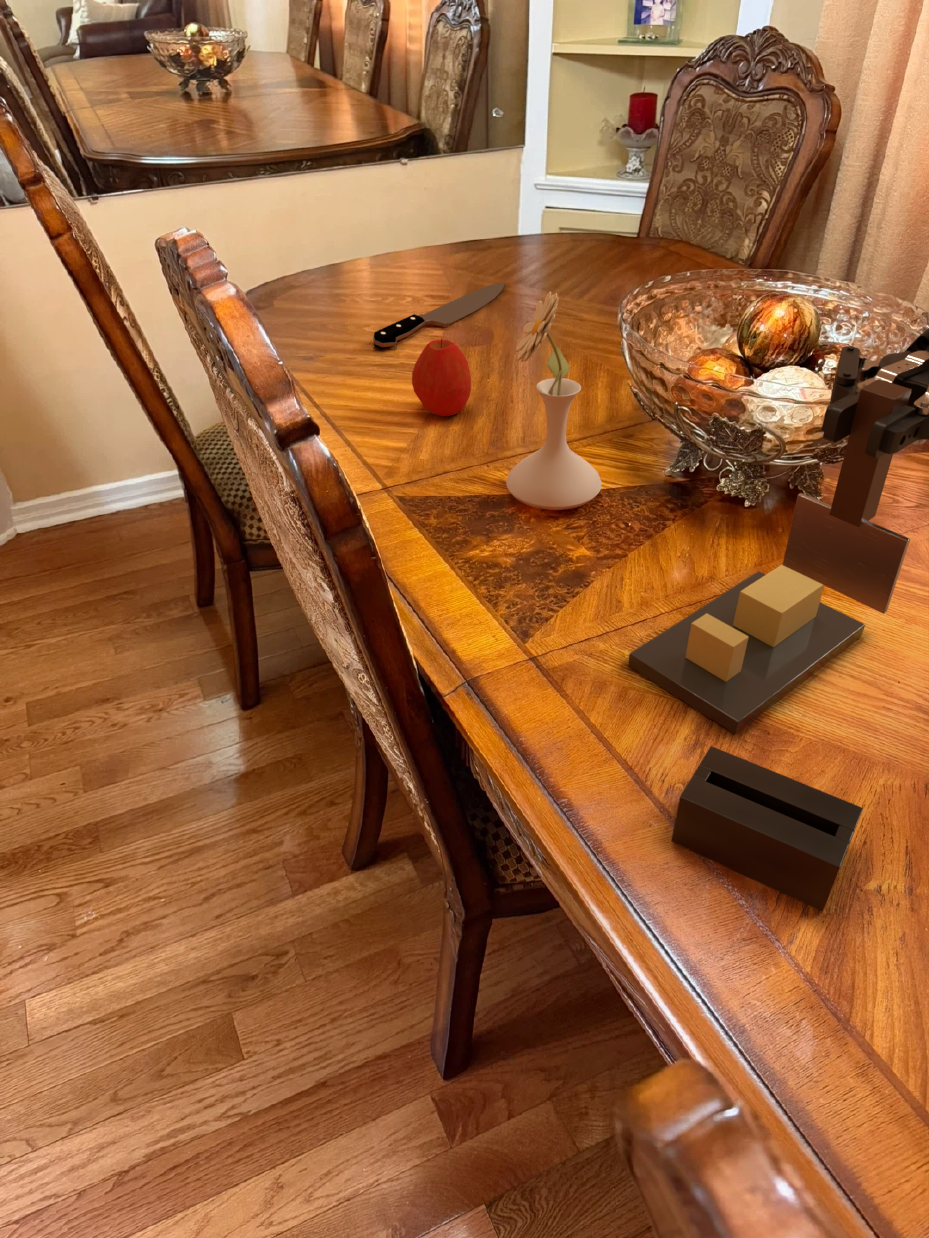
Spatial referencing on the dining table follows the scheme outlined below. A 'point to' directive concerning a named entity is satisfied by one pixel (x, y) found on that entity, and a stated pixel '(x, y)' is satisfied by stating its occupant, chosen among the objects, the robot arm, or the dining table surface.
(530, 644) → the dining table surface
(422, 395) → the apple
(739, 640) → the block
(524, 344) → the flower in vase
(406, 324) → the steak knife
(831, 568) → the knife
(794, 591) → the butter block
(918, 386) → the robot arm
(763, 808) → the knife stand
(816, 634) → the board
